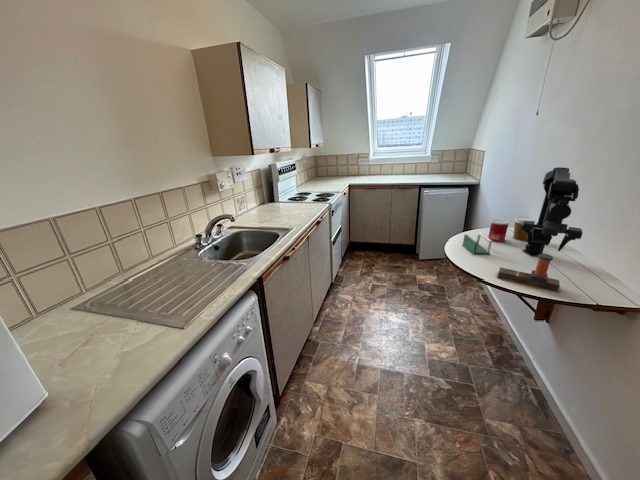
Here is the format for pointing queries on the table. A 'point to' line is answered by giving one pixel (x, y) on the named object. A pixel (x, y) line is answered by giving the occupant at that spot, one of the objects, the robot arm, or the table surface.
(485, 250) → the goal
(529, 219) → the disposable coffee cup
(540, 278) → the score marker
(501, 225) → the canned food
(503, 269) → the rail
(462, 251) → the table surface
